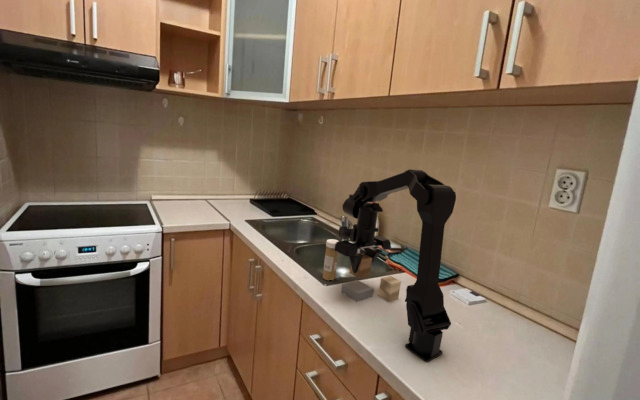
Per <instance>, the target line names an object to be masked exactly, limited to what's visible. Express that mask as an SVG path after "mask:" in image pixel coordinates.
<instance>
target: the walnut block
mask: <svg viewBox="0 0 640 400" xmlns="http://www.w3.org/2000/svg"><path fill="white" fill-rule="evenodd" d="M360 254H362V255H363V256H362V259H361V262H360V265H359V267H358V270H357V272H356V273H353V270H352V266H351V265H350V267H349V274H351V276H354V277H355V278H357V279H364V278H366V277H370V274H371V270H372V269H371V268H372V265H371V262H372V258H371V257H369V256H367V255H365V253H364V252H360Z"/></svg>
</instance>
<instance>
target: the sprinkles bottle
mask: <svg viewBox="0 0 640 400" xmlns="http://www.w3.org/2000/svg"><path fill="white" fill-rule="evenodd" d="M338 241H339V240H338V239H334V238H331V239H327V240H326V241H325V254H324V261H323V262H324V263H323V274H322V279H323V280H325V281H329V280H332V281H335V280H336V278H337V277H336V275H337V269H338V268H337V266H338V259H339V258H338V256H339V252H337V251H335V243H337V242H338ZM334 279H335V280H334Z"/></svg>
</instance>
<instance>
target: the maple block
mask: <svg viewBox="0 0 640 400" xmlns="http://www.w3.org/2000/svg"><path fill="white" fill-rule="evenodd" d="M401 283H402V281H401V280H399V279H397V278H396V277H394V276H392V275H388V276H384V277H380V282H379V288H378V289H379V290H378V296H379V297H380V298H382V299H383V300H384V301H386V302H387V303H390V302H394V301H396V300H399V297H400V291H401V290H400V289H401V285H402V284H401Z"/></svg>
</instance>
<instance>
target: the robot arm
mask: <svg viewBox="0 0 640 400" xmlns="http://www.w3.org/2000/svg"><path fill="white" fill-rule="evenodd" d="M404 190H408V191H409V195H410V196H411V197H412V198H413V199H415V201H416V210H417V213H418V216H419V217H420V220H421V222H422V223H421V233H420V234H421V235H420V243H419V253H418V254H419V255H418V261H417V262H418V265H417V273H416V281H415V282H414V284H409V285H407V287H406V289H405V290H406V291H405V292H406V295H405V300H404V302H405V303H406V305H405V307H406V315H407V325H408V326H409V327H410V330H409V336H408V337H409V338H408V343H406V344H405V346H404V347H405V348H406V349H407V350H408V351H410V352H412V353H413V354H415V355H416V356H417V357H419V358H420V359H422V360H423V361H424V362H427V363H428V362H430V361H432V360H433V359H435V358H437V357H439V356H441V355H443V353H444V352H443V350H442V349H441V344H442V339H443V333H444V331H445V330H449V329H450V327H451V325H452V322H451V320H450V318H449V315H448V313H447V310H446V307H445V305H444V304H445V302H444V301H445V300H444V293H443V291H442V289H441V286H440V285H439V282H440V281H439V280H440V272H441V263H442V262H441V261H442V253H443V252H442V250H443V242H444V235H445V227H446V226H445V225H446V223H447V221H448V220H449V219H450V217H451V216H452V214H453V212H454V209H455V208H454V207H455V204H456V200H457V194H456V192H455V191H454V190H453V188H452V187H451V186H450V185H447V184H445V183H443V182H442V181H440V180H439V179H436V178H434V177H433V176H431V175H429V174H428V173H427V172H426V171H424V170H422V169H412V168H411V169H407V170H405V171H403V172H400V173H397V174H395V175H392V176H390V177H387V178H384V179H381V180H375V181H362V182H360V183H359V185H358V186H357V189H355V191H354V193H353V194H349V195H348V198H346V199H345V200H344V201H343V204H342V212H343V213H344V214H346V215H348V216H350V217H352V218H355V219H356V220H357V222H356V223H355V224H353V226H352V228H348V226H347V225H346V226H339V227H338V228H339V229H338V236H339V238H342V240H338V242H337V243H335V251H337V252H338V254H340V255H343V256H345V257H348V258H349V261H350V266H352V270H353V273H356V272H357V270H358V267H359V265H360V262H361V259H362V256H363V255H362V254H360V253H361V250H362V249H363V251H364V254H365V255H367V256H369V257H371V258H372V262H371V266H372V264H373V263H374V262H375V261H376V259H377V258H378V256H379V255H380V254H382V253H383V250H384V251H385V250H386V251H387V250H391V240H390V239H389V238H385V237H383V236H381V235H376V232H377V233H378V232H379V227H377V220H378V214H379V213H382V212H384V210H383V208H382V207H381V205H380V203H378V202H381V201H383V200H385V199H386V198H388V196H389V195H390V194H394V193H397V192H401V191H404ZM347 239H349V241H348V240H347ZM353 242H354V243H353ZM380 246H381V248H382V250H381V249H380Z"/></svg>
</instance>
